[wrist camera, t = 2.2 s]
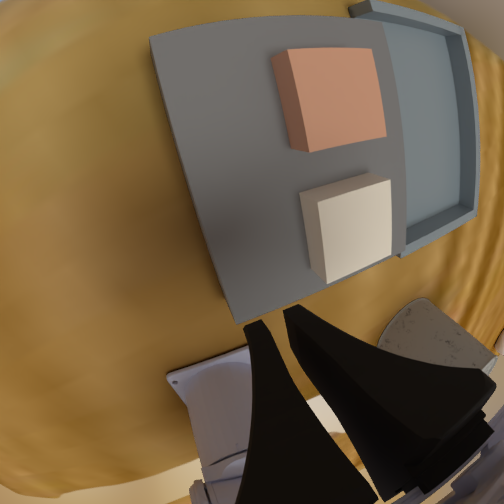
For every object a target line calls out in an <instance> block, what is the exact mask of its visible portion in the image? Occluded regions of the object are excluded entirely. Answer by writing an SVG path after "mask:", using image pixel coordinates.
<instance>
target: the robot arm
mask: <svg viewBox="0 0 504 504" xmlns="http://www.w3.org/2000/svg"><path fill="white" fill-rule="evenodd" d="M283 314H284V319H285V323H286V328H287V333H288V338H289V342H290V347H291V349H292V351H293V353H294V355H295V357H296V358H297V360H298V362H299V364H300V366H301V368H302V369H303V371H304V372H305V373H306V375H307V376H308V378H309V379H310V380H311V382H312V383H313V385H314V386H315V387H316V389H317V390H318V391H319V393H320V394H321V395H322V397H323V398H324V399H325V401H326V402H327V404H328V405H329V406H330V408H331V409H332V410H333V412H334V413H335V415H336V416H337V418H338V420H339V421H340V423H341V425H342V426H343V428H344V430H345V432H346V433H347V435H348V437H349V439H350V440H351V442H352V444H353V446H354V447H355V449H356V451H357V453H358V455H359V456H360V458H361V460H362V462H363V464H364V466H365V468H366V469H367V471H368V473H369V475H370V477H371V479H372V481H373V483H374V485H375V487H376V489H377V491H378V493H379V495H380V497H381V498H382V500H383V501H384V502H386V501H388V500H389V499H391V498H393V497H394V496H396V495H397V494H399V493H400V492H402V491H404V492H405V495H404V496H403V497H401V498H399V499H398V500H396V501H395V502H393V503H392V504H420V503H421V502H423V501H424V500H425V499H427V498H428V497H429V496H431V495H432V494H433V493H435V492H436V491H437V490H438V489H440V488H441V487H442V486H443V485H444V484H445V483H447V482H448V481H449V480H450V479H451V478H453V477H454V476H455V475H456V474H457V473H458V472H459V471H461V470H462V469H463V468H464V467H465V466H466V465H467V464H468V463H469V462H470V461H471V460H472V459H473V458H474V457H475V456H476V455H477V454H478V453H479V452H480V451H481V456H480V458H479V459H477V460H476V461H475V462H474V463H473V464H471V465H470V466H469V467H468V468H467V469H466V470H464V471H463V473H461V474H460V475H459V476H458V477H457V478H456V479H455V480H454V481H453V482H452V483H451V487H452V488H453V491H452V492H451V493H449V494H448V495H447V496H445V497H444V498H443V499H442V500H440V501H439V502H438V503H436V504H504V405H503V406H502V408H501V409H500V410H499V411H498V412H497V414H496V415H495V416H494V417H493V418H492V419H491V420H490V421H489V422H488V423H487V422H486V421H485V420H484V418H485V416H486V414H485V413H484V412H483V411H482V410H481V409H482V407H483V406H484V405H485V403H486V402H487V401H488V400H489V398H490V397H491V395H492V394H493V393H494V391H495V389H496V383H495V382H494V381H493V380H492V379H491V378H490V377H489V376H488V375H487V374H485V373H484V372H483V371H482V370H481V369H479V368H463V367H450V366H443V365H437V364H431V363H427V362H423V361H418V360H414V359H410V358H406V357H403V356H400V355H397V354H394V353H391V352H388V351H385V350H382V349H380V348H377V347H375V346H373V345H370V344H368V343H366V342H364V341H362V340H359V339H357V338H355V337H353V336H351V335H349V334H347V333H346V332H344V331H342V330H340V329H338V328H336V327H335V326H333V325H331V324H329V323H328V322H326V321H324V320H323V319H321V318H320V317H318V316H316V315H315V314H313V313H312V312H310V311H309V310H307V309H306V308H304V307H303V306H301V305H299V304H297V305H295V306H292V307H290V308H288V309H285V310H283ZM243 330H244V333H245V336H246V339H247V342H248V345H247V346H245V347H242V348H240V349H237V350H234V351H232V352H229V353H226V354H223V355H221V356H218V357H215V358H212V359H210V360H207V361H204V362H201V363H198V364H195V365H192V366H189V367H186V368H183V369H180V370H177V371H174V372H171V373H168V374H167V376H166V377H167V381H168V382H169V383H170V385H171V386H172V387H173V389H174V390H175V391H176V393H177V394H178V395H179V397H180V398H181V399H182V401H183V402H184V403H185V404H186V406H187V408H188V413H189V417H190V422H191V426H192V430H193V434H194V439H195V443H196V447H197V451H198V454H199V458H200V462H201V465H202V468H201V470H202V473H203V477H204V480H205V483H203V482H202V479H201V480H195V481H194V484H193V485H192V486H191V487H190V488H189V493H190V498H191V502H192V504H374V503H375V502H376V501H377V500H378V496H377V495H376V494H375V492H374V491H373V489H372V487H371V486H370V484H369V483H368V482H367V481H366V479H365V478H364V477H363V476H362V475H361V473H360V472H359V471H358V470H357V469H356V468H355V466H354V465H353V464H352V463H351V462H350V460H349V459H348V458H347V457H346V455H345V454H344V453H343V452H342V450H341V449H340V448H339V447H338V445H337V444H336V443H335V441H334V440H333V439H332V437H331V436H330V435H329V433H328V432H327V431H326V429H325V428H324V427H323V425H322V424H321V422H320V421H319V420H318V418H317V417H316V415H315V414H314V412H313V411H312V410H311V408H310V407H309V405H308V404H307V402H306V401H305V399H304V397H303V396H302V394H301V393H300V391H299V390H298V388H297V387H296V385H295V384H294V382H293V380H292V378H291V376H290V374H289V372H288V370H287V368H286V365H285V363H284V361H283V359H282V357H281V354H280V352H279V350H278V348H277V346H276V343H275V341H274V339H273V337H272V335H271V332H270V331H269V329H268V328H267V326H266V325H265V324H264V322H263V321H262V320H258V321H256V322H253V323H250V324H248V325H245V327H244V328H243Z"/></svg>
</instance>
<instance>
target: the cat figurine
mask: <svg viewBox="0 0 504 504" xmlns="http://www.w3.org/2000/svg"><path fill="white" fill-rule="evenodd" d="M495 349H496V350H497V352H499V353H500V354H501V355H503V356H504V330H503V331H502V332H501V334H500V336H499V338H498V340H497V342H496V344H495Z"/></svg>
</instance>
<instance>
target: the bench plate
mask: <svg viewBox="0 0 504 504" xmlns="http://www.w3.org/2000/svg"><path fill="white" fill-rule="evenodd" d="M149 43H150V53H151V57H152V61H153V65H154V69H155V73H156V77H157V81H158V85H159V88H160V92H161V96H162V100H163V103H164V107H165V111H166V114H167V118H168V122H169V125H170V129H171V132H172V136H173V139H174V143H175V146H176V149H177V153H178V156H179V160H180V163H181V166H182V170H183V173H184V176H185V180H186V183H187V186H188V189H189V192H190V196H191V199H192V202H193V205H194V208H195V211H196V215H197V218H198V221H199V224H200V227H201V230H202V233H203V236H204V239H205V242H206V245H207V248H208V251H209V254H210V257H211V260H212V263H213V266H214V268H215V271H216V274H217V277H218V280H219V283H220V286H221V288H222V291H223V294H224V297H225V300H226V302H227V304H228V307H229V309H230V311H231V314H232V316H233V318H234V320H235V323H236V325H237V324H240V323H242V322H245V321H248V320H250V319H253V318H255V317H258V316H260V315H263V314H265V313H268V312H270V311H273V310H275V309H278V308H280V307H283V306H285V305H288V304H290V303H292V302H295V301H297V300H299V299H302V298H304V297H306V296H309V295H311V294H313V293H316V292H318V291H320V290H323V289H325V288H327V287H329V286H332V285H334V284H336V283H338V282H340V281H343V280H345V279H347V278H349V277H351V276H354V275H356V274H358V273H360V272H362V271H364V270H366V269H368V268H371V267H373V266H375V265H377V264H379V263H381V262H383V261H385V260H387V259H389V258H391V257H393V256H395V255H397V254H399V253H401V252H403V251H405V248H406V219H407V195H406V167H405V151H404V140H403V130H402V121H401V113H400V106H399V99H398V93H397V87H396V81H395V76H394V70H393V66H392V61H391V56H390V52H389V48H388V44H387V40H386V36H385V32H384V28H383V25H382V22H378V21H371V20H364V19H355V18H345V17H332V16H305V15H292V16H266V17H253V18H242V19H234V20H226V21H219V22H213V23H207V24H201V25H196V26H191V27H186V28H182V29H178V30H173V31H169V32H165V33H162V34H158V35H154V36H151V37H149ZM301 48H367V49H372V53H373V57H374V62H375V67H376V71H377V76H378V81H379V87H380V92H381V98H382V105H383V111H384V118H385V126H386V134H387V137H381V138H376V139H370V140H365V141H360V142H355V143H350V144H346V145H341V146H336V147H332V148H327V149H323V150H319V151H314V152H310V153H309V152H304V151H299V150H295V149H291V147H290V142H289V137H288V132H287V127H286V122H285V118H284V113H283V109H282V104H281V100H280V95H279V91H278V87H277V83H276V78H275V74H274V70H273V66H272V62H271V58H272V57H274V56H275V55H277V54H279V53H281V52H283V51H285V50H287V49H301ZM365 173H372V174H375V175H378V176H381V177H384V178H388V179H390V181H391V207H392V245H391V255H389V256H387V257H385V258H383V259H381V260H379V261H377V262H375V263H372V264H370V265H368V266H366V267H364V268H362V269H360V270H358V271H355V272H353V273H351V274H349V275H347V276H344V277H342V278H340V279H338V280H335V281H333V282H331V283H329V284H326V283H325V282H324V281H323V280H322V279H321V278H320V277H319V276H318V275H317V274H316V273H315V272H314V271H313V270H312V269H311V266H310V259H309V252H308V245H307V238H306V231H305V225H304V219H303V213H302V207H301V201H300V195H299V193H300V192H304V191H307V190H310V189H313V188H317V187H320V186H323V185H327V184H330V183H334V182H337V181H340V180H344V179H347V178H351V177H354V176H358V175H362V174H365Z"/></svg>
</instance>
